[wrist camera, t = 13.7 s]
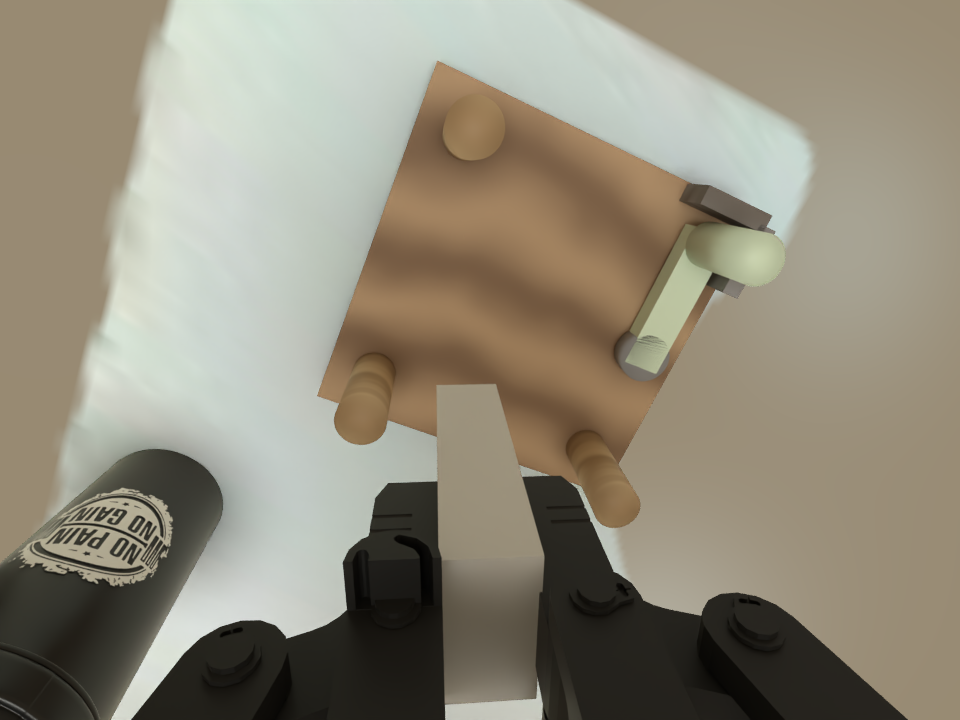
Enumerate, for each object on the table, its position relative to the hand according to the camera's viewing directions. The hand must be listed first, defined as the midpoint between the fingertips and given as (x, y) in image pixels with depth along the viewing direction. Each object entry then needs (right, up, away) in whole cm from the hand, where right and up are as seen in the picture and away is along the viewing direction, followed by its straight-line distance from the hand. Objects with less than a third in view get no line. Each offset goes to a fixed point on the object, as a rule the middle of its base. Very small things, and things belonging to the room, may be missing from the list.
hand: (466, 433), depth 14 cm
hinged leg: (+13, +6, +23) cm, 27 cm away
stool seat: (+4, +6, +24) cm, 25 cm away
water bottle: (-23, -8, +27) cm, 37 cm away
